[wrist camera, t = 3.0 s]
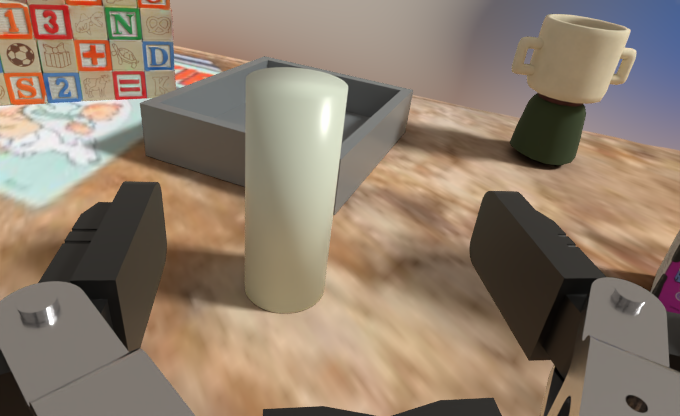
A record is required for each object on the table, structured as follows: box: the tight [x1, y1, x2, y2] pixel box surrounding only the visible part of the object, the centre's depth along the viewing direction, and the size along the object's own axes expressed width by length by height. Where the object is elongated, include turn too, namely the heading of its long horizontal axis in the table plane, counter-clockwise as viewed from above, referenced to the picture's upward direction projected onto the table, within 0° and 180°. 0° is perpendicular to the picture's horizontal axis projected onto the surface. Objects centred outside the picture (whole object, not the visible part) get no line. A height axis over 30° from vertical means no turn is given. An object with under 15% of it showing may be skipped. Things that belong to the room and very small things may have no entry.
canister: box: [245, 67, 348, 313], centre depth 25 cm, size 5×5×12 cm
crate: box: [140, 56, 413, 215], centre depth 44 cm, size 17×19×4 cm
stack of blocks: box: [0, 0, 176, 105], centre depth 46 cm, size 21×6×12 cm, turn 117°
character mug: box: [510, 14, 636, 165], centre depth 45 cm, size 11×7×13 cm, turn 90°
